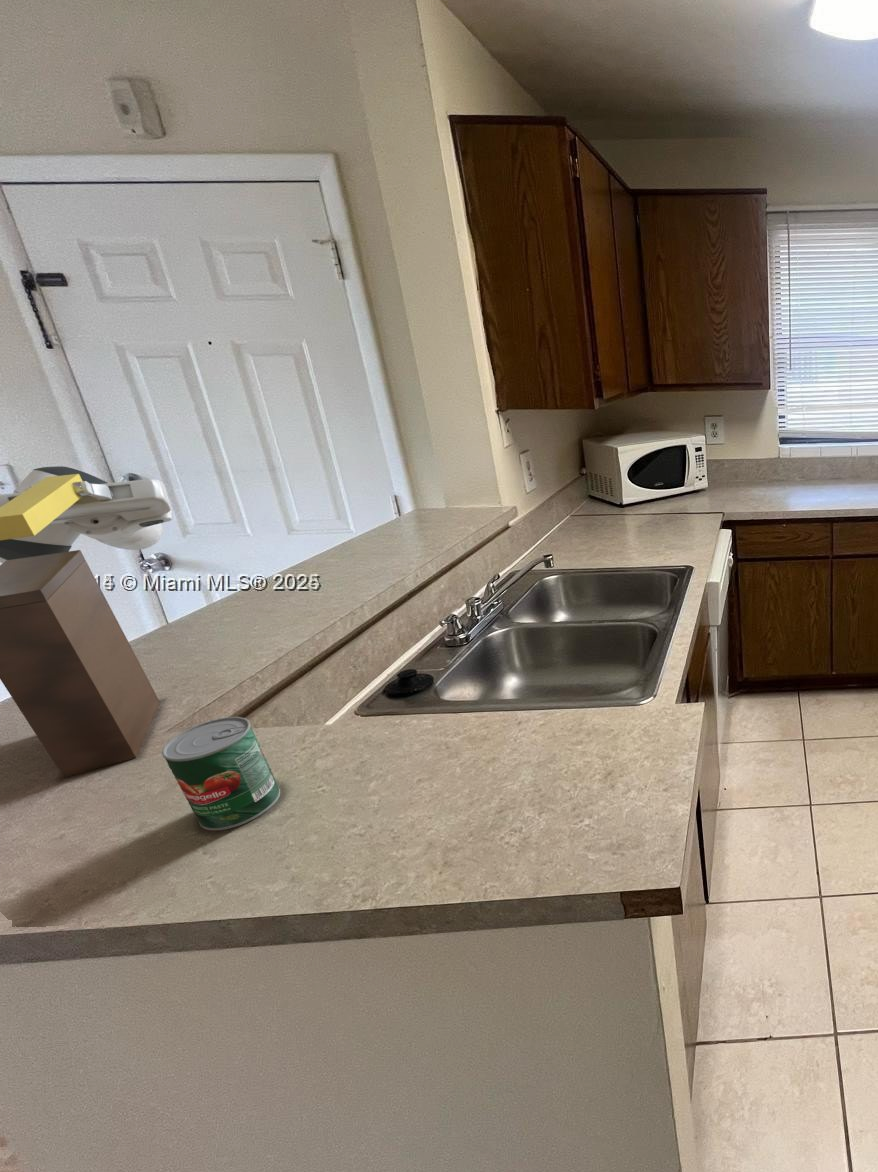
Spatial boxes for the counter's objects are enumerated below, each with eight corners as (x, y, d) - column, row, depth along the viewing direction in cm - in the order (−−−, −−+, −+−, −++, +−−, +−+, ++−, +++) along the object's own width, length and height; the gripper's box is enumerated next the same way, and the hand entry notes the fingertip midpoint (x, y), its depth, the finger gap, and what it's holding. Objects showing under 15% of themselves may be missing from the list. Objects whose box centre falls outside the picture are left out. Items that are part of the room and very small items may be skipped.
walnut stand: (63, 777, 81) (-49, 604, 71) (97, 717, 93) (5, 560, 82) (136, 757, 85) (40, 589, 74) (160, 701, 97) (80, 549, 86)
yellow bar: (-6, 541, 78) (-19, 519, 77) (56, 495, 96) (46, 476, 94) (34, 536, 80) (22, 514, 78) (88, 492, 97) (79, 473, 96)
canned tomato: (192, 840, 72) (151, 768, 67) (207, 799, 78) (170, 730, 74) (277, 814, 76) (244, 743, 71) (284, 776, 82) (254, 709, 77)
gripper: (3, 504, 99) (-56, 478, 87) (175, 485, 109) (142, 460, 98) (14, 541, 99) (-44, 521, 87) (184, 518, 109) (153, 498, 98)
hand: (56, 488), depth 92 cm, fingers closed on yellow bar, 3 cm apart
